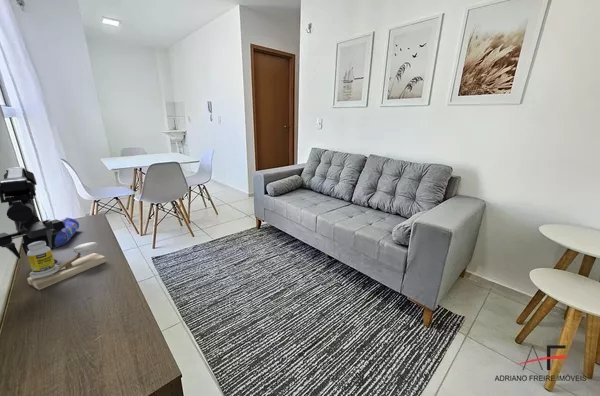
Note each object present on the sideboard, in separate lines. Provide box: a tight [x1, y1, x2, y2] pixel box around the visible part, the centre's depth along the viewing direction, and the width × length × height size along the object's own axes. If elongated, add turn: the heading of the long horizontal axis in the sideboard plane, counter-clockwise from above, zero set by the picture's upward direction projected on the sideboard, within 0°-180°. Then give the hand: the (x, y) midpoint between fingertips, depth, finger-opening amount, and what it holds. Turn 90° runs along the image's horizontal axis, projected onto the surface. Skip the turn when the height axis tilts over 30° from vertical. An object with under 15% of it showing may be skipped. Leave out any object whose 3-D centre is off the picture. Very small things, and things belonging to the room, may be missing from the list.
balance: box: [27, 241, 107, 291], centre depth 101 cm, size 8×22×8 cm, turn 155°
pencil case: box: [55, 217, 80, 248], centre depth 130 cm, size 22×9×10 cm, turn 28°
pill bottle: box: [26, 241, 56, 274], centre depth 93 cm, size 6×6×11 cm
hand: (36, 252), depth 94 cm, fingers open, 9 cm apart
